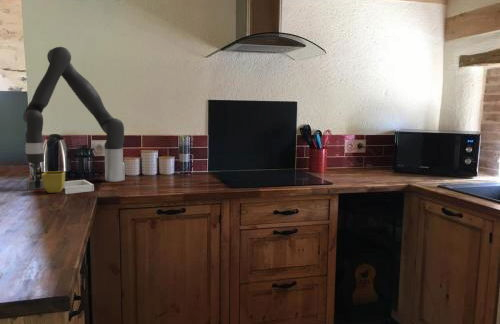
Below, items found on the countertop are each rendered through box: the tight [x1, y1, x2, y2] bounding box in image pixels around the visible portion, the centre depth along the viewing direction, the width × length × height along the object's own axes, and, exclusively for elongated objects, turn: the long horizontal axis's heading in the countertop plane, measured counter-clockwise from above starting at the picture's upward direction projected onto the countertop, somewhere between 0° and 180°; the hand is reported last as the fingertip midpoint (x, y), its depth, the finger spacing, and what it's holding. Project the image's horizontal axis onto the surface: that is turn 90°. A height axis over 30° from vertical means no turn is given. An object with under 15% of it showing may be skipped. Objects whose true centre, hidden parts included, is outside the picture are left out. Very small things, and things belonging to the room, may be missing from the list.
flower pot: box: [41, 170, 66, 194], centre depth 187 cm, size 9×9×9 cm
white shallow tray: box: [62, 179, 95, 195], centre depth 193 cm, size 12×15×3 cm
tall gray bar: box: [25, 179, 45, 191], centre depth 196 cm, size 12×3×4 cm, turn 138°
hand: (36, 187), depth 195 cm, fingers open, 5 cm apart
